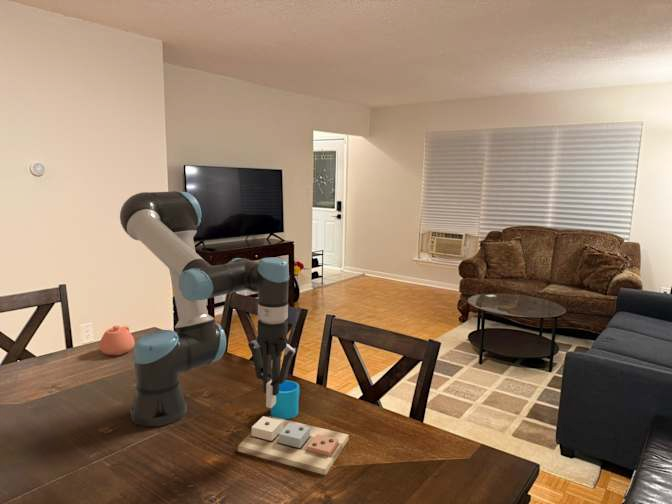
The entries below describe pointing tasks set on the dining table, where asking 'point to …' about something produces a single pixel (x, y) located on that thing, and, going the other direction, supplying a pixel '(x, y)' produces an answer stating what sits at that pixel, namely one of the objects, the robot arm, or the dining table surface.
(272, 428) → the tile one
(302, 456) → the board
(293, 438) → the tile two
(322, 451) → the tile three
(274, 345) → the robot arm
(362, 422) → the dining table surface
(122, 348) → the sugar bowl
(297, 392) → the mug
